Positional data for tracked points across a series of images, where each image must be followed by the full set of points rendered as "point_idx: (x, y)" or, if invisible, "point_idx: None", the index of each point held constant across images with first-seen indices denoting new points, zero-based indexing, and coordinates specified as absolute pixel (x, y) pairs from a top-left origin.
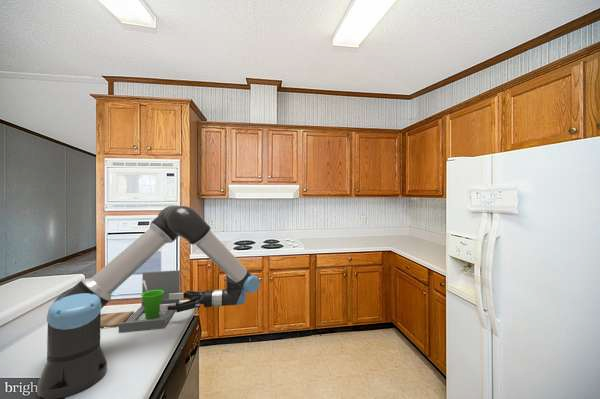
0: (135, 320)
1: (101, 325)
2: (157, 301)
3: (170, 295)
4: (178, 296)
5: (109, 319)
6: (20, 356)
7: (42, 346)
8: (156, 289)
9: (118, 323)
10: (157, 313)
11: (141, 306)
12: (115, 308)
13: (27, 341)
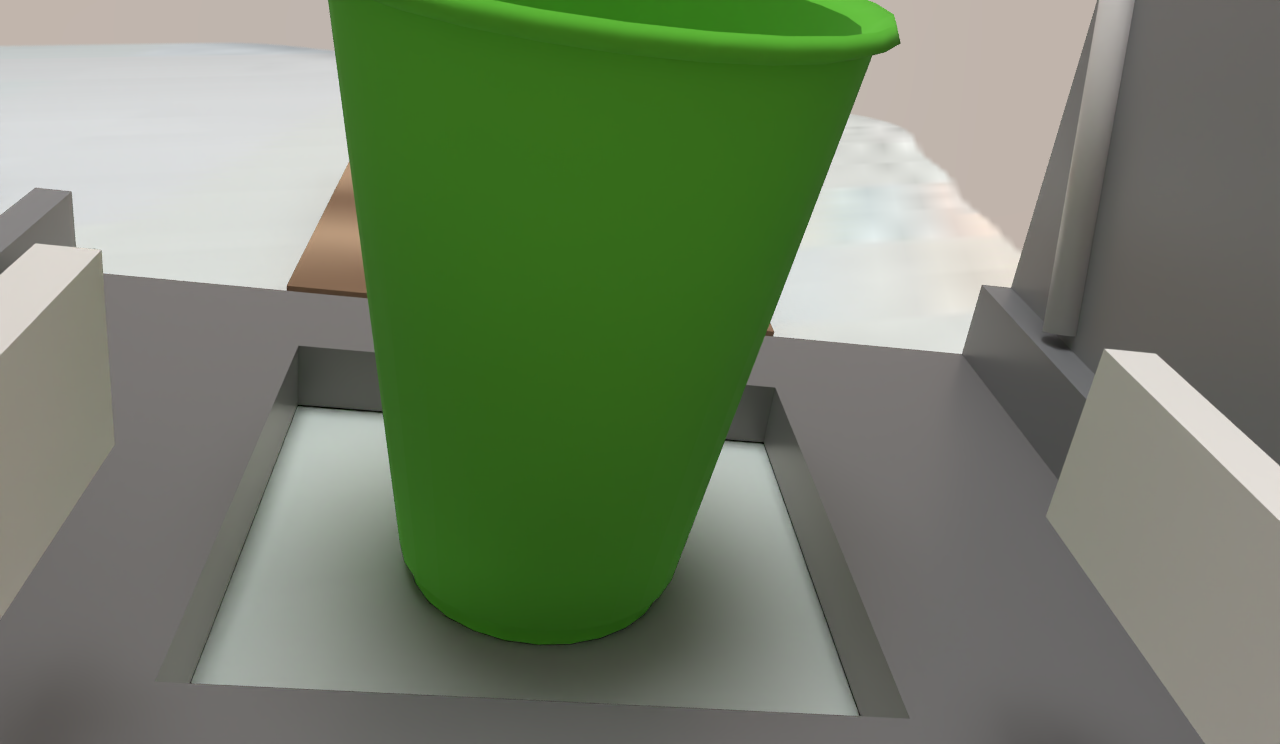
0: (371, 377)
1: (346, 199)
2: (407, 202)
3: (1108, 414)
4: (1236, 641)
5: None
6: (10, 64)
7: (126, 93)
8: (1211, 161)
9: (331, 271)
10: (465, 541)
11: (935, 356)
12: (927, 252)
13: (292, 67)
